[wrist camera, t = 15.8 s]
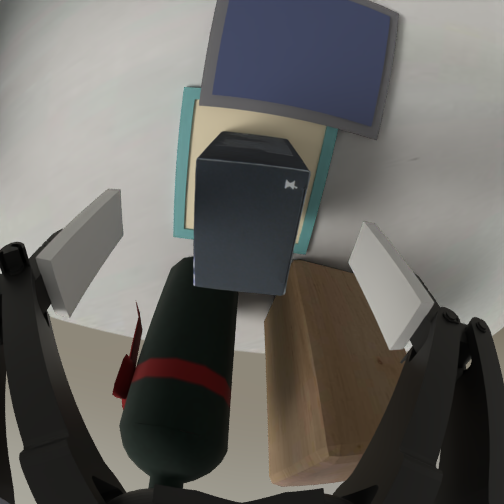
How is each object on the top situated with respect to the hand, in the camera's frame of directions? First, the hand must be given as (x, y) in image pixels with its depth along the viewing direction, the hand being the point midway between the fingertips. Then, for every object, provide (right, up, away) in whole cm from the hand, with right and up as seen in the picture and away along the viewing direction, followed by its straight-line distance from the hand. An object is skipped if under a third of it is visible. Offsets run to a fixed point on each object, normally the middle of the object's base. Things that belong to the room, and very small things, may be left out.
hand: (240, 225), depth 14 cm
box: (0, +5, +9) cm, 11 cm away
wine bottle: (-6, -5, +16) cm, 18 cm away
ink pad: (+5, +15, +3) cm, 16 cm away
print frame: (0, +5, +9) cm, 11 cm away
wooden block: (+8, -7, +17) cm, 20 cm away
